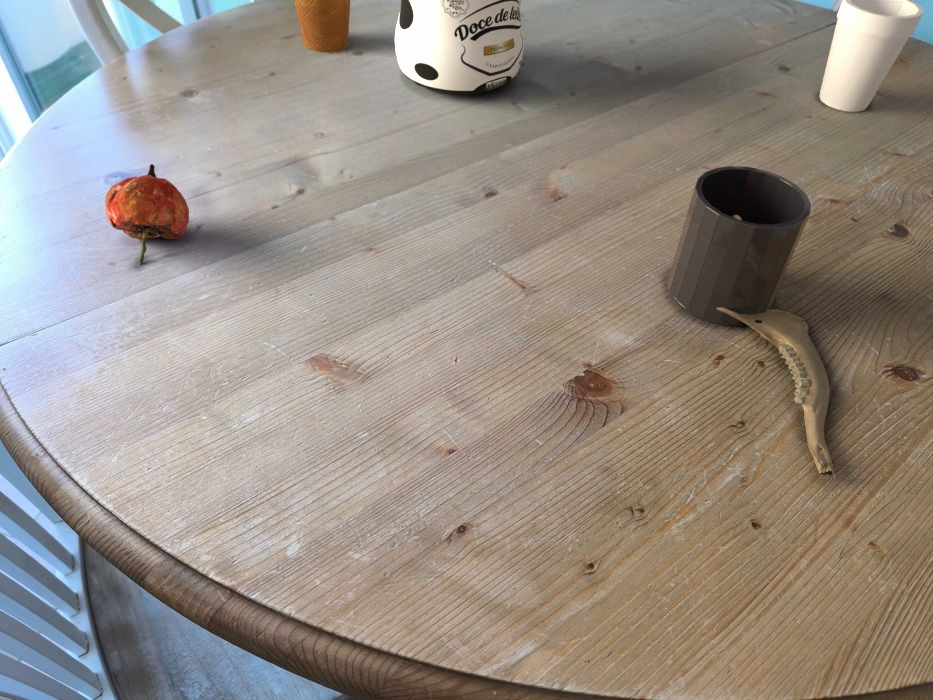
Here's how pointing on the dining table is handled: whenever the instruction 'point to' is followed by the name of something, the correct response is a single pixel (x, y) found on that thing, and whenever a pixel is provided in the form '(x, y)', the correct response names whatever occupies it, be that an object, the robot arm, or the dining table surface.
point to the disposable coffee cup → (324, 24)
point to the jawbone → (799, 373)
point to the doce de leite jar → (460, 43)
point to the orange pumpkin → (147, 208)
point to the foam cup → (865, 49)
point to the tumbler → (736, 243)
